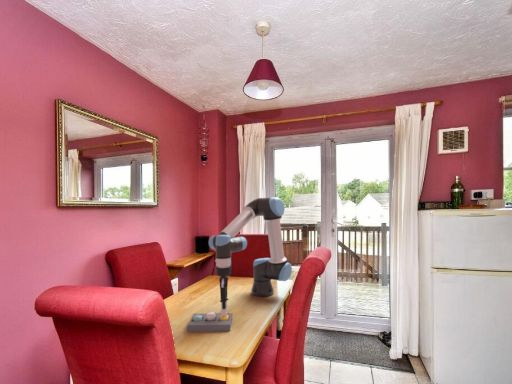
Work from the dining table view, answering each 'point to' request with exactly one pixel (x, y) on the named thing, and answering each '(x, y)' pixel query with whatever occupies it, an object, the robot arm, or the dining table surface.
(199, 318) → the button teal
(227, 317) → the button ochre
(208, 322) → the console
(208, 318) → the button white
